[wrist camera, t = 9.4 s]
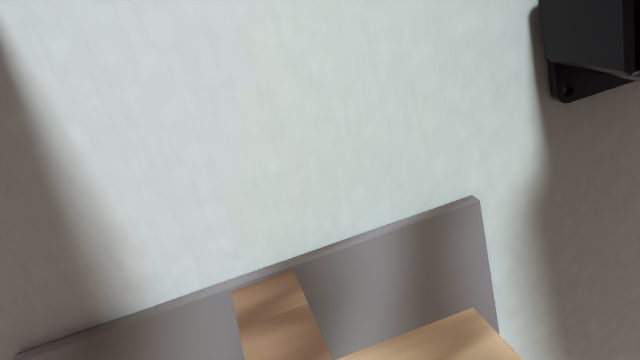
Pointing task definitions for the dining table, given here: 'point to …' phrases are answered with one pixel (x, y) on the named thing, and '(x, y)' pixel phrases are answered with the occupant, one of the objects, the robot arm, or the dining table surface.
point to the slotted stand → (337, 301)
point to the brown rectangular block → (277, 321)
